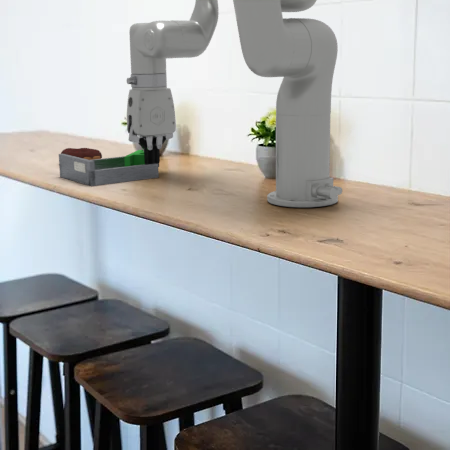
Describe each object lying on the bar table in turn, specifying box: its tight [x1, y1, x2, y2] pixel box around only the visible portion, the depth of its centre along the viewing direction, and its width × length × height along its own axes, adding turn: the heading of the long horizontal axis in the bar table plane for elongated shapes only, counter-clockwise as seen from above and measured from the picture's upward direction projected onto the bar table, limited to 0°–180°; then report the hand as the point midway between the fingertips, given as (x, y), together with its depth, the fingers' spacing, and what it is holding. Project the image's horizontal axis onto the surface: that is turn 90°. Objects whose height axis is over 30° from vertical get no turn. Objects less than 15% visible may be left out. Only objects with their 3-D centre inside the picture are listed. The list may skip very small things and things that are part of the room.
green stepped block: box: [124, 149, 145, 167], centre depth 174 cm, size 11×4×5 cm, turn 170°
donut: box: [60, 147, 103, 160], centre depth 187 cm, size 10×10×4 cm
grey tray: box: [58, 153, 159, 187], centre depth 167 cm, size 15×16×5 cm
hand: (152, 167), depth 170 cm, fingers closed
